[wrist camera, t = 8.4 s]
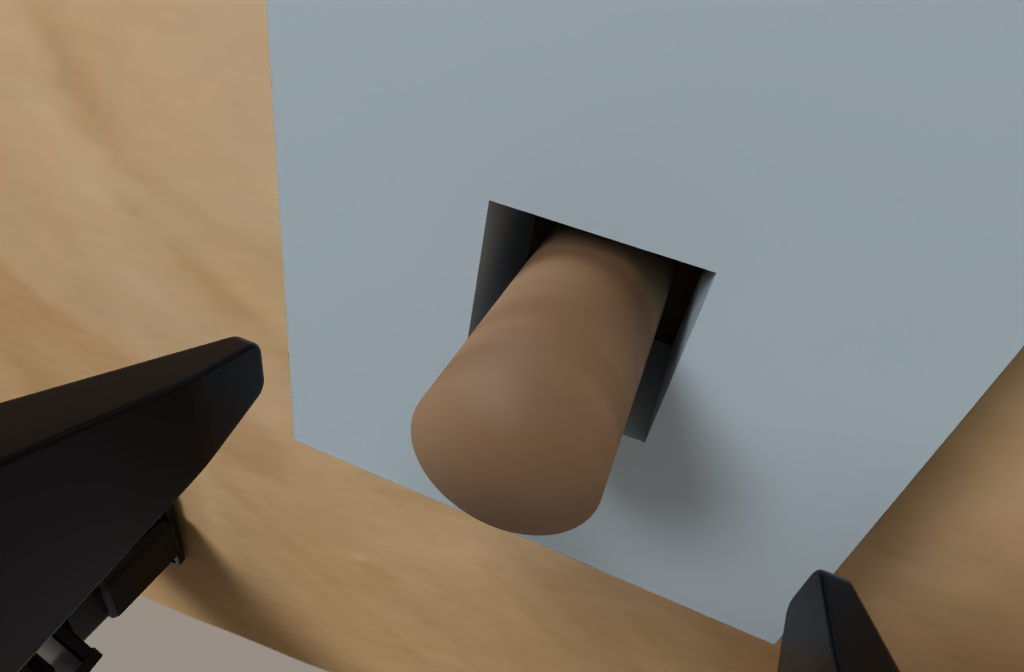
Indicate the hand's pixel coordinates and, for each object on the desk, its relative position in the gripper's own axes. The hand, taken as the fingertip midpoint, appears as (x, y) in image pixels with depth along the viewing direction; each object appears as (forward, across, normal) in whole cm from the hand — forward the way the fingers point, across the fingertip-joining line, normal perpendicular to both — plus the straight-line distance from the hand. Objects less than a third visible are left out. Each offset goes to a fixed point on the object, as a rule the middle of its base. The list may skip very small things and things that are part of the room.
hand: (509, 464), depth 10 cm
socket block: (+8, 0, 0) cm, 8 cm away
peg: (+8, 0, 0) cm, 8 cm away
